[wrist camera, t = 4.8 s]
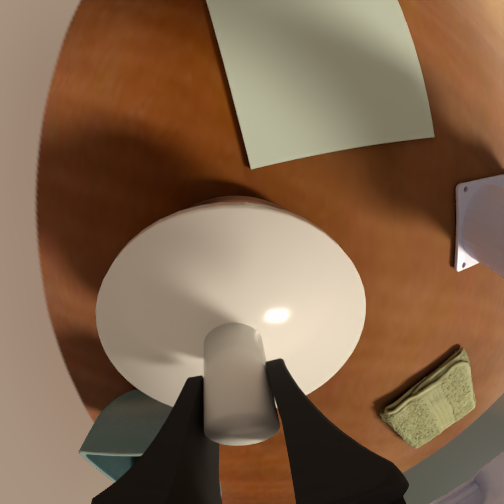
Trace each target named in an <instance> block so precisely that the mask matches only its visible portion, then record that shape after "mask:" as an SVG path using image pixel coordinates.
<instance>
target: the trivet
mask: <svg viewBox="0 0 504 504" xmlns="http://www.w3.org/2000/svg"><path fill="white" fill-rule="evenodd" d="M206 2H207V6H208V9H209V13H210V16H211V20H212V23H213V27H214V31H215V34H216V38H217V42H218V45H219V49H220V53H221V56H222V60H223V64H224V67H225V71H226V75H227V79H228V82H229V86H230V90H231V94H232V98H233V101H234V105H235V109H236V113H237V117H238V121H239V125H240V129H241V132H242V136H243V140H244V144H245V148H246V152H247V156H248V160H249V164H250V168H251V169H254V168H258V167H263V166H267V165H271V164H276V163H280V162H285V161H289V160H294V159H298V158H303V157H308V156H313V155H318V154H323V153H329V152H334V151H340V150H345V149H351V148H357V147H363V146H370V145H376V144H383V143H390V142H397V141H405V140H413V139H422V138H431V137H435V136H434V130H433V124H432V118H431V112H430V107H429V102H428V97H427V93H426V88H425V84H424V80H423V76H422V72H421V68H420V64H419V61H418V57H417V54H416V50H415V47H414V44H413V41H412V38H411V35H410V32H409V29H408V26H407V23H406V21H405V18H404V15H403V13H402V10H401V8H400V5H399V3H398V0H206Z"/></svg>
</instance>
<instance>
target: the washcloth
mask: <svg viewBox="0 0 504 504" xmlns="http://www.w3.org/2000/svg"><path fill="white" fill-rule="evenodd" d="M471 377H472V376H471V368H470V361H469V360H468V355H467V353H466V350H465V349H464V348H463V347H462V348H460V349H459V350H456V351H455V353H454V354H452V355H451V356H450V357H449V358H448V359H447V360H446V361H445V362H443V363H442V364H441V365H440V366H439V367H438V368H437V369H436V370H435V371H434V372H433V373H431V374H430V375H428V376H426V377H424V378H423V380H421V381H420V382H418V383H417V384H416V385H415V386H413V387H412V388H411V389H410V390H408V391H407V392H406V393H405V394H404V395H403V396H401V397H400V398H399V399H398V400H397V401H395V402H394V403H392V404H391V405H389V406H387V407H386V408H385V409H384V410H382V411H380V416H381V417H382V420H383V421H384V422H386V423H388V425H389V426H391V428H393V429H394V431H397V434H399V435H400V436H401V437H402V439H403V440H404V441H406V443H407V444H408V445H409V446H412V447H414V448H418V447H420V446H422V445H423V444H426V443H427V442H429V441H431V439H432V438H434V437H436V436H437V435H439V434H441V432H442V431H443V430H444V429H446V428H447V427H449V426H450V425H452V424H453V423H455V422H456V421H458V420H460V419H461V418H462V417H463V416H465V415H466V414H468V413H469V412H470V411H471V410H473V409H474V408H475V404H476V398H475V395H474V391H473V384H472V383H473V382H472V380H471Z"/></svg>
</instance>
